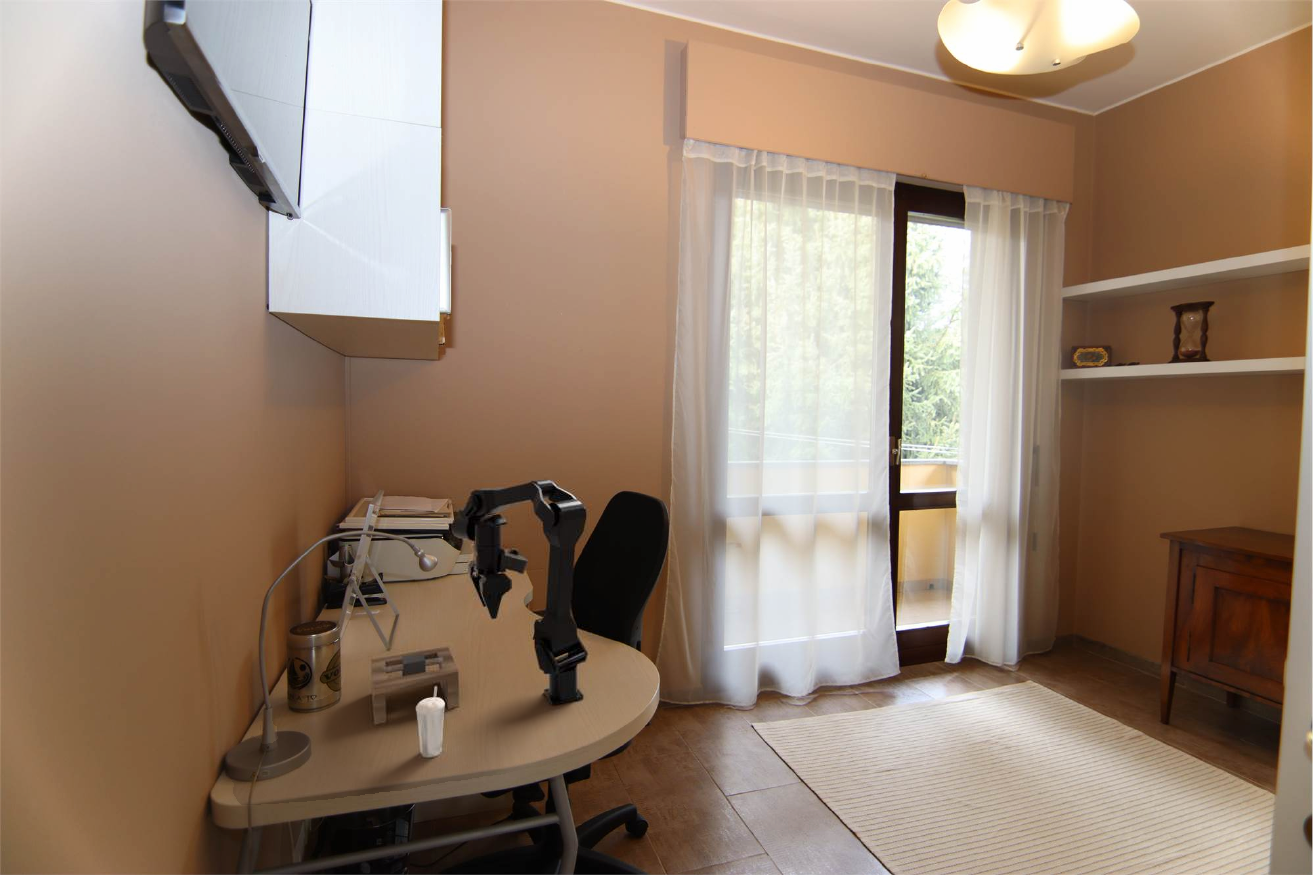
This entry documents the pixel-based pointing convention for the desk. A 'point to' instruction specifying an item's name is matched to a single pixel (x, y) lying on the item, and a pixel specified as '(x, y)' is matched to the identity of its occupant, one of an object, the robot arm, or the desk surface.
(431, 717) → the milkshake
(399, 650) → the desk surface
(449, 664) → the shelf
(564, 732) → the desk surface
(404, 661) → the grey slotted box
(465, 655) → the desk surface
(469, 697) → the desk surface
